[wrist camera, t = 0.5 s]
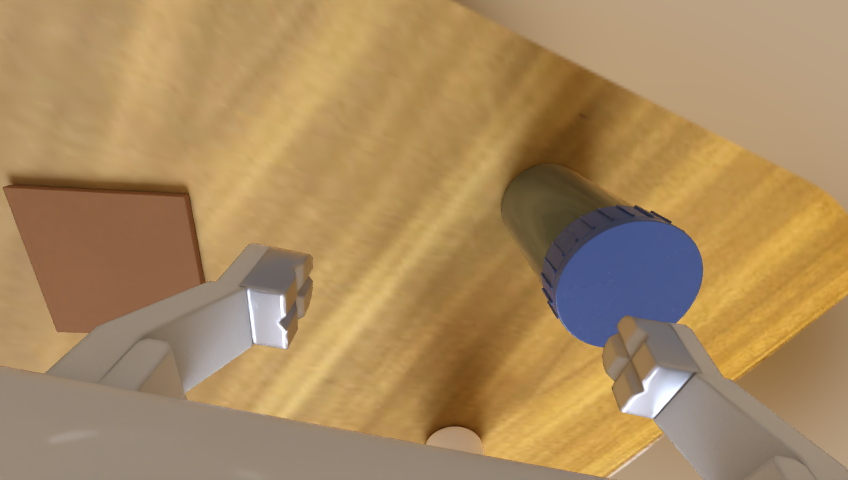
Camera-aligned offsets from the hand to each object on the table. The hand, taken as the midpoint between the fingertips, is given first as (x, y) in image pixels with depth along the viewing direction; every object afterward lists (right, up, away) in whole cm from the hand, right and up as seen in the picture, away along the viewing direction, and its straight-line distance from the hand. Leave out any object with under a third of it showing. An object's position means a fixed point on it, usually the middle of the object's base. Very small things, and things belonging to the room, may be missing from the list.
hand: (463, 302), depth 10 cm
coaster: (-22, 0, +17) cm, 28 cm away
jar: (+7, +4, +16) cm, 18 cm away
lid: (+7, 0, +6) cm, 10 cm away
